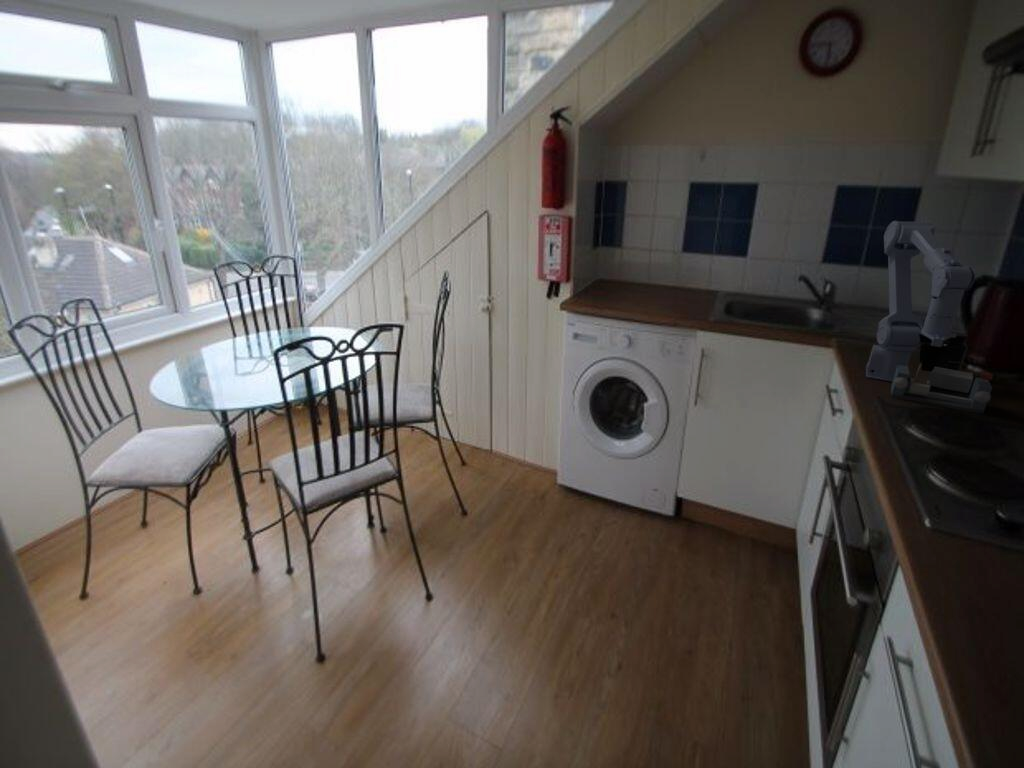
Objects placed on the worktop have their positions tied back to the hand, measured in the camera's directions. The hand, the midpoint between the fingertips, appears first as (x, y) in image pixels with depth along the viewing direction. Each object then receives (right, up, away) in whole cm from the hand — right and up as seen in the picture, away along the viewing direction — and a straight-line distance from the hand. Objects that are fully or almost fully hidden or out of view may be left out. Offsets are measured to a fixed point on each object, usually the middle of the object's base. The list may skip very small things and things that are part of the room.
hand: (925, 366), depth 139 cm
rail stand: (+3, -9, +1) cm, 9 cm away
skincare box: (+18, -5, +7) cm, 19 cm away
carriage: (0, -7, +3) cm, 7 cm away
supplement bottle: (+21, -1, +21) cm, 30 cm away
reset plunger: (+10, -3, -6) cm, 12 cm away
